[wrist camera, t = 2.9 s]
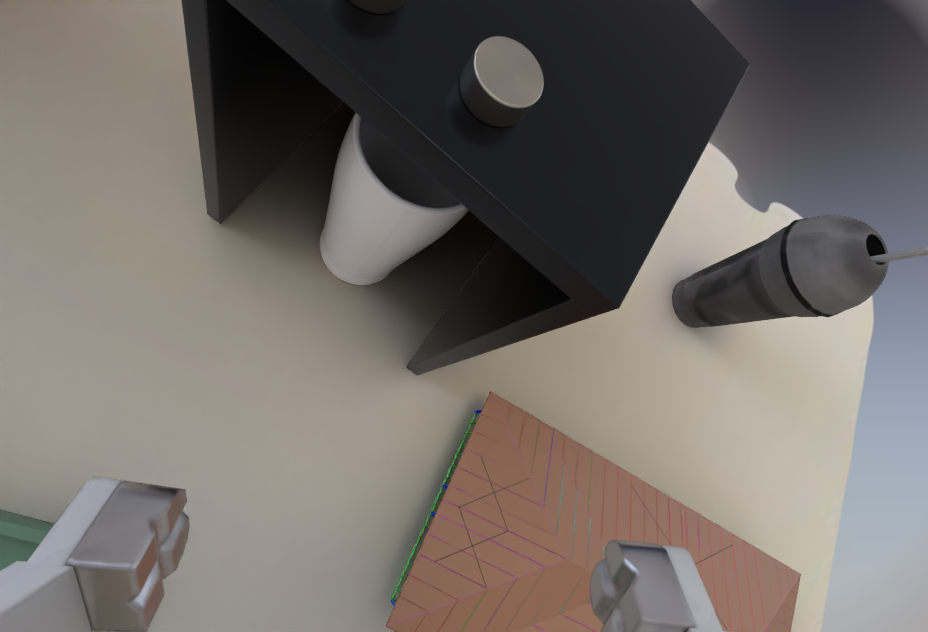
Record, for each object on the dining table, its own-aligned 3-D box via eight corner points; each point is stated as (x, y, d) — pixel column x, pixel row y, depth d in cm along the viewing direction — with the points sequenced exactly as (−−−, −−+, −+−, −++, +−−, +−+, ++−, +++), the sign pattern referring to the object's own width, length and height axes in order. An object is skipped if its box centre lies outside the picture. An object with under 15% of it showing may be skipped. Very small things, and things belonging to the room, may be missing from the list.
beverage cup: (700, 254, 50) (962, 151, 32) (733, 325, 50) (1016, 262, 32) (647, 279, 47) (906, 181, 29) (682, 355, 46) (965, 304, 29)
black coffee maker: (417, 376, 37) (645, 300, 16) (207, 214, 34) (164, -132, 13) (514, 234, 42) (776, 45, 22) (342, 84, 39) (460, -302, 19)
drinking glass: (336, 313, 35) (398, 237, 22) (288, 223, 35) (322, 92, 22) (420, 274, 38) (521, 186, 25) (377, 191, 38) (454, 58, 25)
